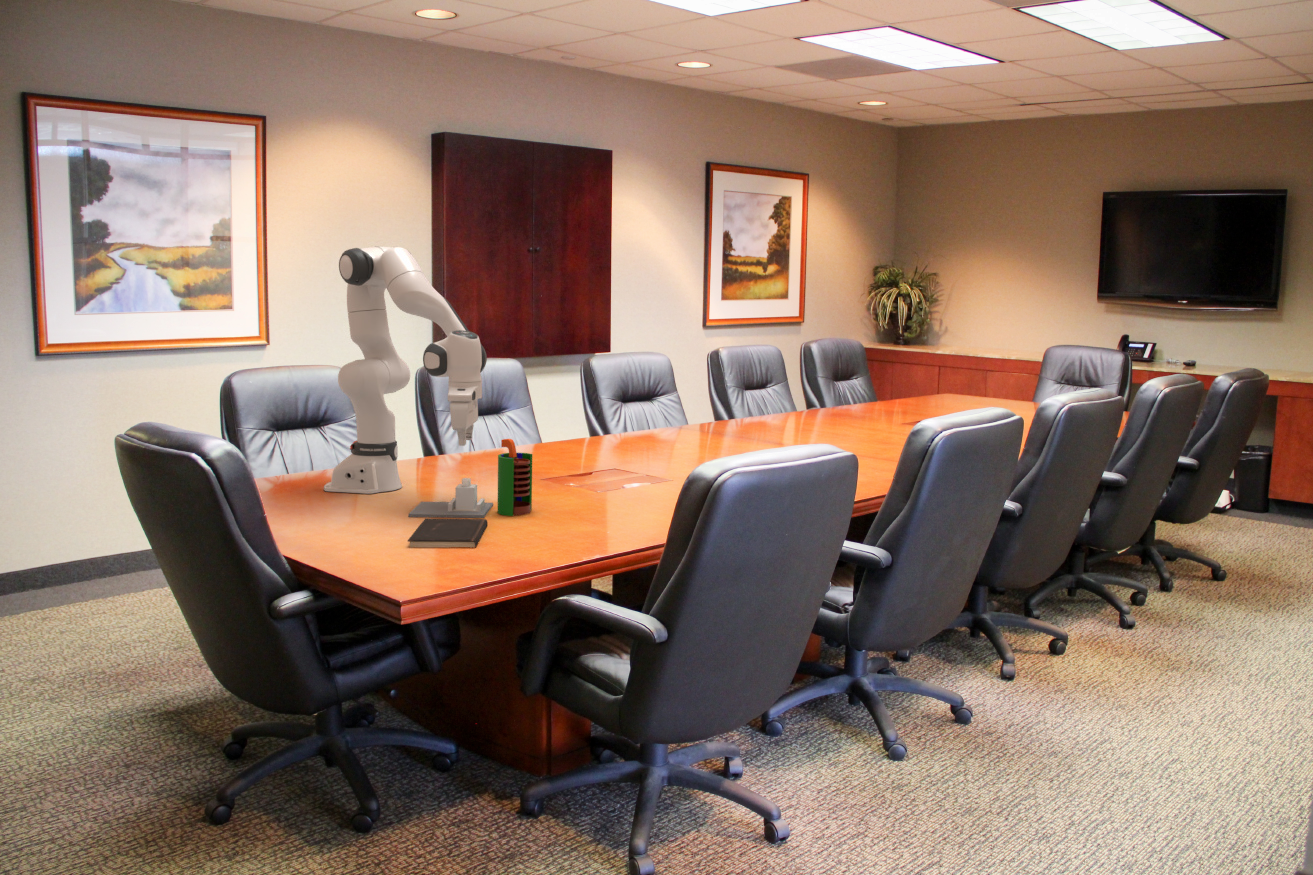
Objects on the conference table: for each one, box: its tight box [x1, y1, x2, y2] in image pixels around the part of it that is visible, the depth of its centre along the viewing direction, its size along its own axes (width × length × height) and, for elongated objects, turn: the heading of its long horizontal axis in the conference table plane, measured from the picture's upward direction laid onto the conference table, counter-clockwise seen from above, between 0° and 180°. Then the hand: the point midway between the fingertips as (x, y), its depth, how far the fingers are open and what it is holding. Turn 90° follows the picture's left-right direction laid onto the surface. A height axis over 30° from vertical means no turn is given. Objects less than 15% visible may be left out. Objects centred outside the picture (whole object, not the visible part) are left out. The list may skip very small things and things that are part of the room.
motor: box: [497, 438, 533, 517], centre depth 288 cm, size 10×9×20 cm
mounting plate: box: [408, 497, 494, 519], centre depth 289 cm, size 20×16×3 cm
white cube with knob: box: [455, 477, 478, 510], centre depth 289 cm, size 5×5×8 cm
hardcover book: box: [407, 518, 489, 549], centre depth 262 cm, size 16×23×2 cm
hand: (465, 442), depth 287 cm, fingers open, 8 cm apart
